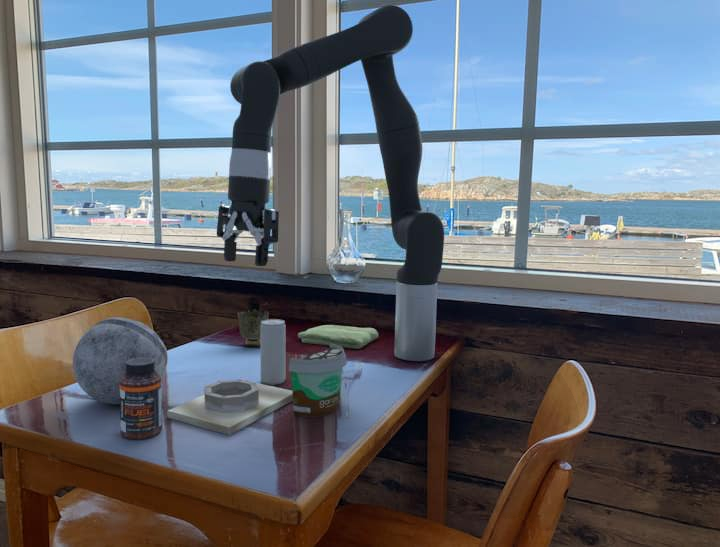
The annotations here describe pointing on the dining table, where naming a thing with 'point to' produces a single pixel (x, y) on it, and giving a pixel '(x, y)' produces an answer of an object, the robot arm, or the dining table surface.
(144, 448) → the dining table surface
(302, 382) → the food container
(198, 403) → the holder board
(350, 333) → the washcloth
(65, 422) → the dining table surface
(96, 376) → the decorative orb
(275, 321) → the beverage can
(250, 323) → the cup
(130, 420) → the supplement bottle
